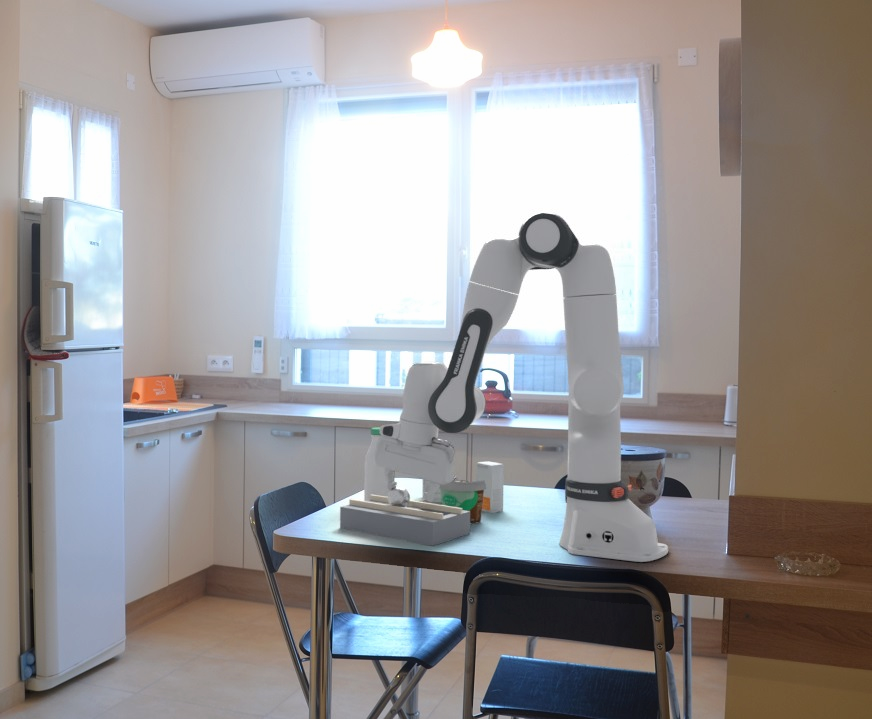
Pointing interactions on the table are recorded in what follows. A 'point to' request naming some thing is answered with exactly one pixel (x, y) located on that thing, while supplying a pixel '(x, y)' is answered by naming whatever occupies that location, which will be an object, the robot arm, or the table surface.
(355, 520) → the grey slotted tray
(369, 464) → the milk bottle
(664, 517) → the table surface
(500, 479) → the skincare box
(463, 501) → the food container
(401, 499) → the steel ball
